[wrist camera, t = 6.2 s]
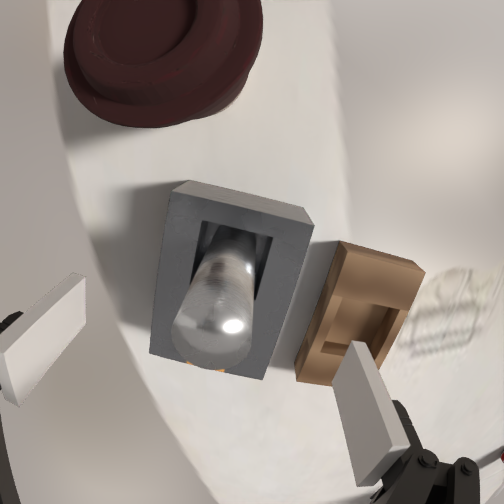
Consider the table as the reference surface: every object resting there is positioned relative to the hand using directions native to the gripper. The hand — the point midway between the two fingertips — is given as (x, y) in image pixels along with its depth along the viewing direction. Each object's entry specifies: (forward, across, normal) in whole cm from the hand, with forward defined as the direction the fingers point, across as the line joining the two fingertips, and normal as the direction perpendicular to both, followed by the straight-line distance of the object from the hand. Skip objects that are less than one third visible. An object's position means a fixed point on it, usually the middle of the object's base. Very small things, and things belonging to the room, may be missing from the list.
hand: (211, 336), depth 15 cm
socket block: (+15, 0, -3) cm, 15 cm away
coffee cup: (+15, -6, +13) cm, 21 cm away
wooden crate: (+15, +13, -5) cm, 20 cm away
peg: (+13, 0, 0) cm, 13 cm away
